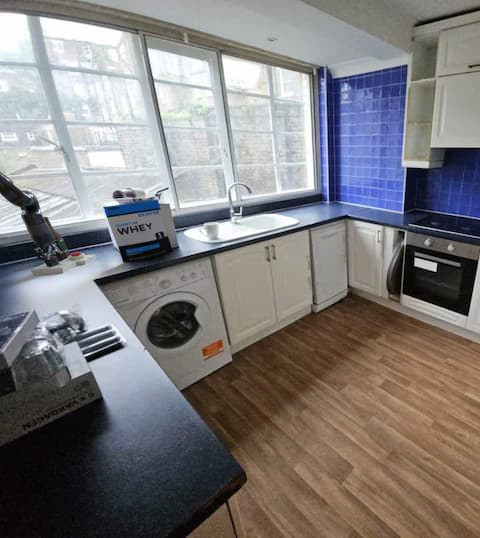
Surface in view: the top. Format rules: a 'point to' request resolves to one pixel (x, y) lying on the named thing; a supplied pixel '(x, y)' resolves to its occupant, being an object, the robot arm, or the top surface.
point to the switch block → (81, 258)
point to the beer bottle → (59, 237)
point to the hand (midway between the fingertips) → (56, 263)
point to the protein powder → (139, 230)
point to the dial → (54, 260)
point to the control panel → (54, 268)
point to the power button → (75, 254)
